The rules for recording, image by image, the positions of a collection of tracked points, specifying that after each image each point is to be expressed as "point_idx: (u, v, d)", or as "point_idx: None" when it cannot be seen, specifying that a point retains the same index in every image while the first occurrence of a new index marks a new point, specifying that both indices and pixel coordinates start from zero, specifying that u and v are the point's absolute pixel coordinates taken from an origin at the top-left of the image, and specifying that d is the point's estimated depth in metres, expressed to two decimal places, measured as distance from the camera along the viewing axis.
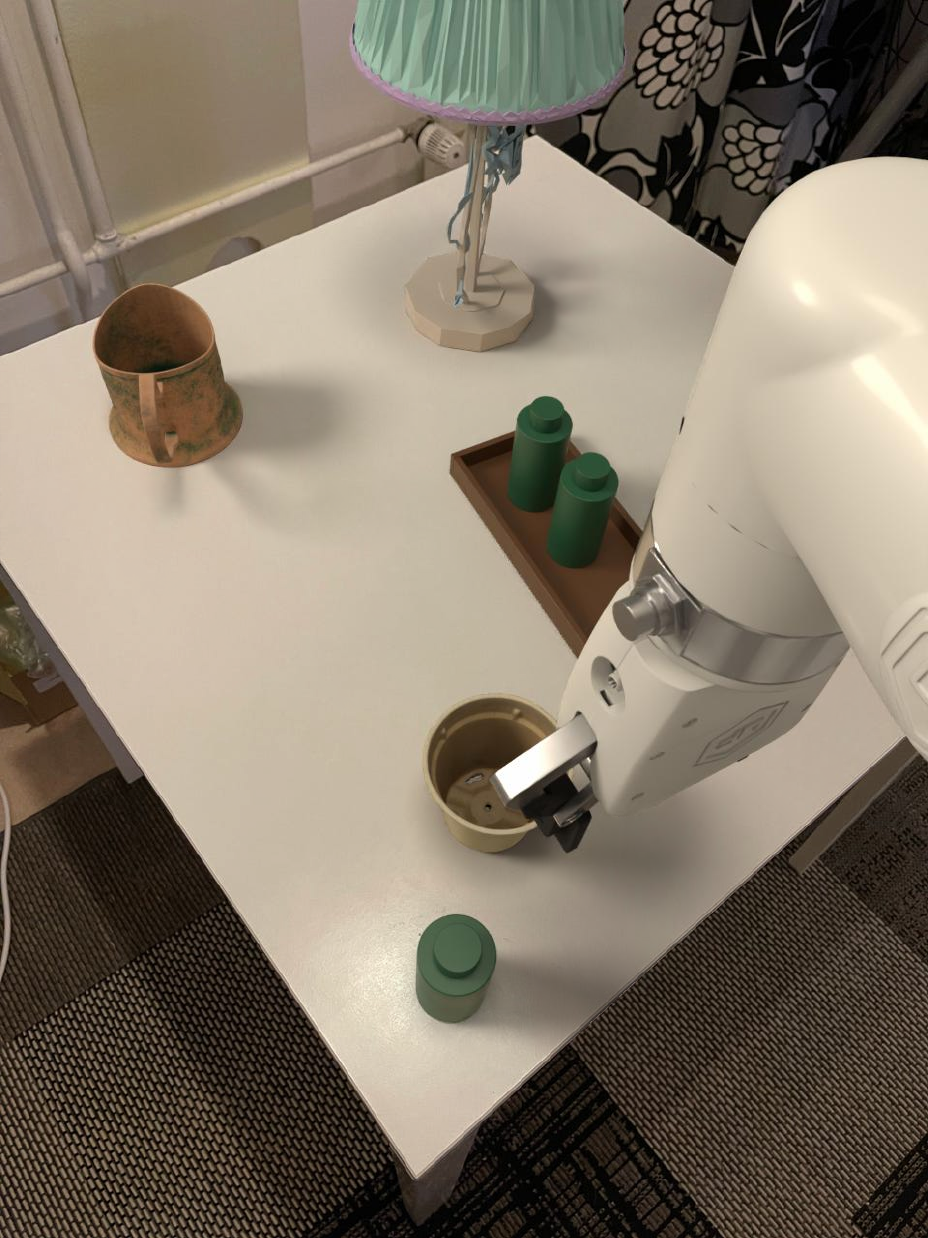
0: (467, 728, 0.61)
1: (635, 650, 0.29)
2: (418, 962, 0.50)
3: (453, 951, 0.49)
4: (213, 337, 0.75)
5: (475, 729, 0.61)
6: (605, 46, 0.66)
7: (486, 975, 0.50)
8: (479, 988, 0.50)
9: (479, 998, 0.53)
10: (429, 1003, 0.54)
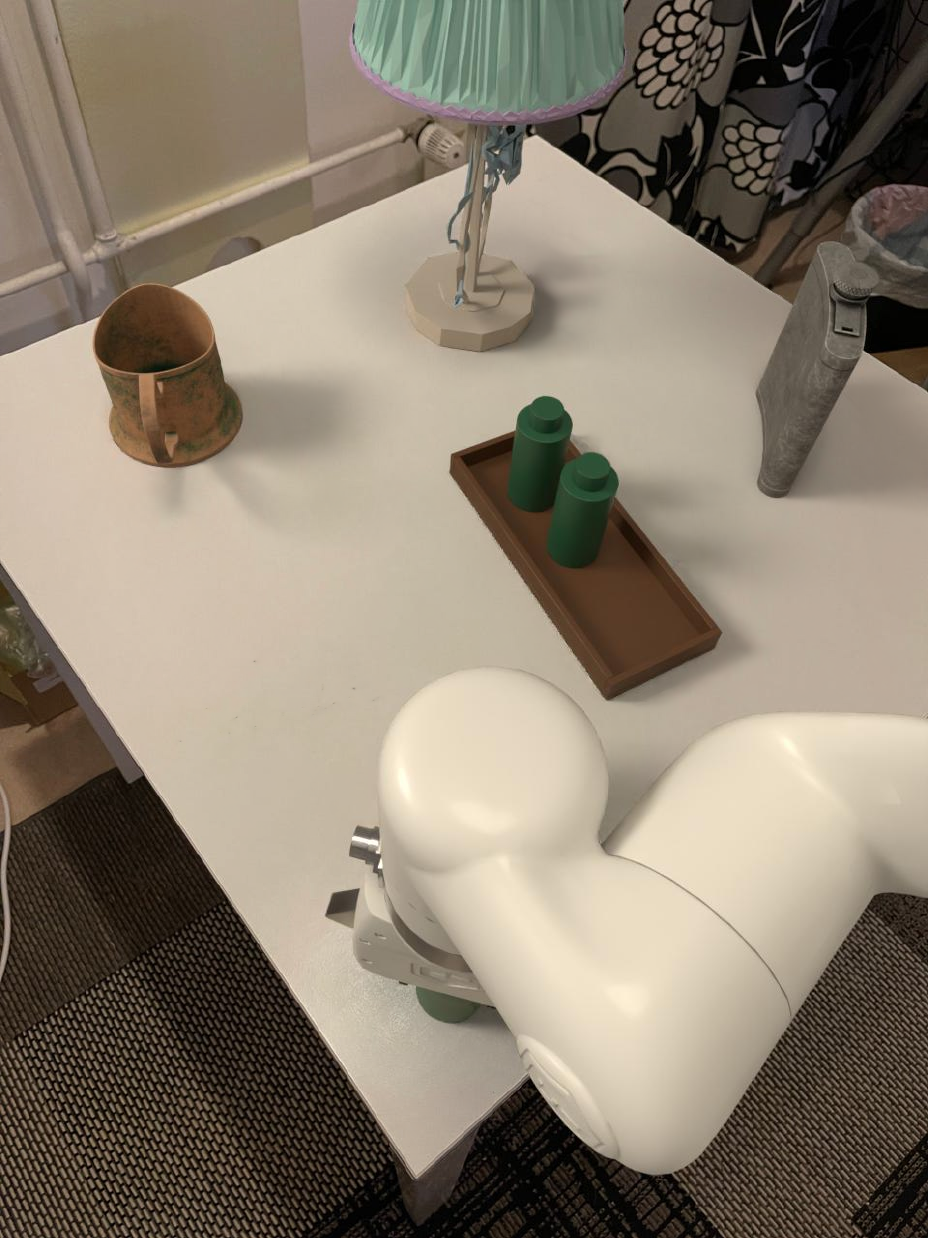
0: None
1: (371, 864, 0.40)
2: None
3: None
4: (213, 337, 0.75)
5: None
6: (605, 46, 0.66)
7: None
8: None
9: None
10: (429, 1003, 0.54)
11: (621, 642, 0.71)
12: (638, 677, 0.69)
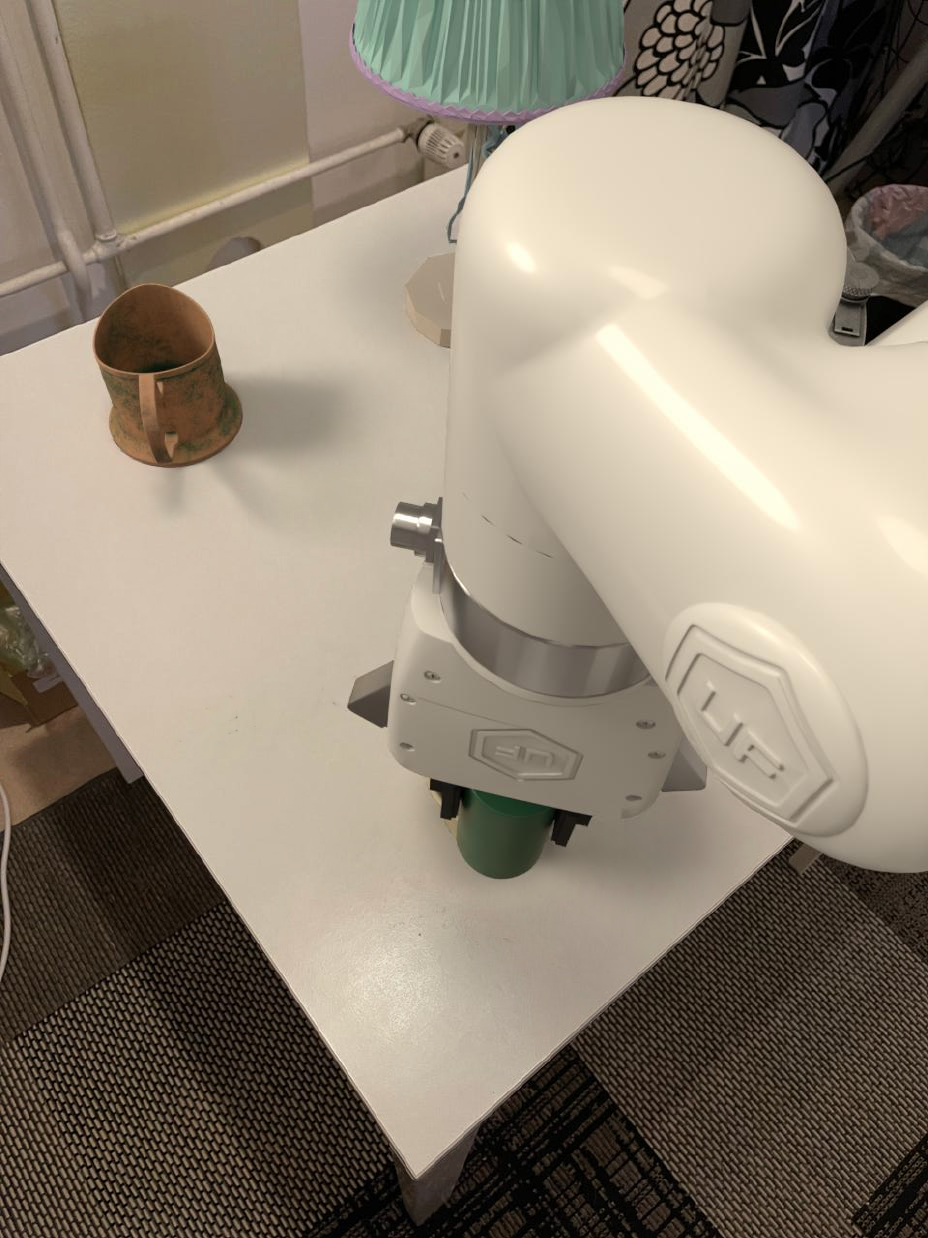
0: None
1: (418, 574, 0.28)
2: None
3: None
4: (213, 337, 0.75)
5: None
6: (605, 46, 0.66)
7: None
8: (549, 808, 0.38)
9: (543, 834, 0.41)
10: (478, 845, 0.42)
11: None
12: None
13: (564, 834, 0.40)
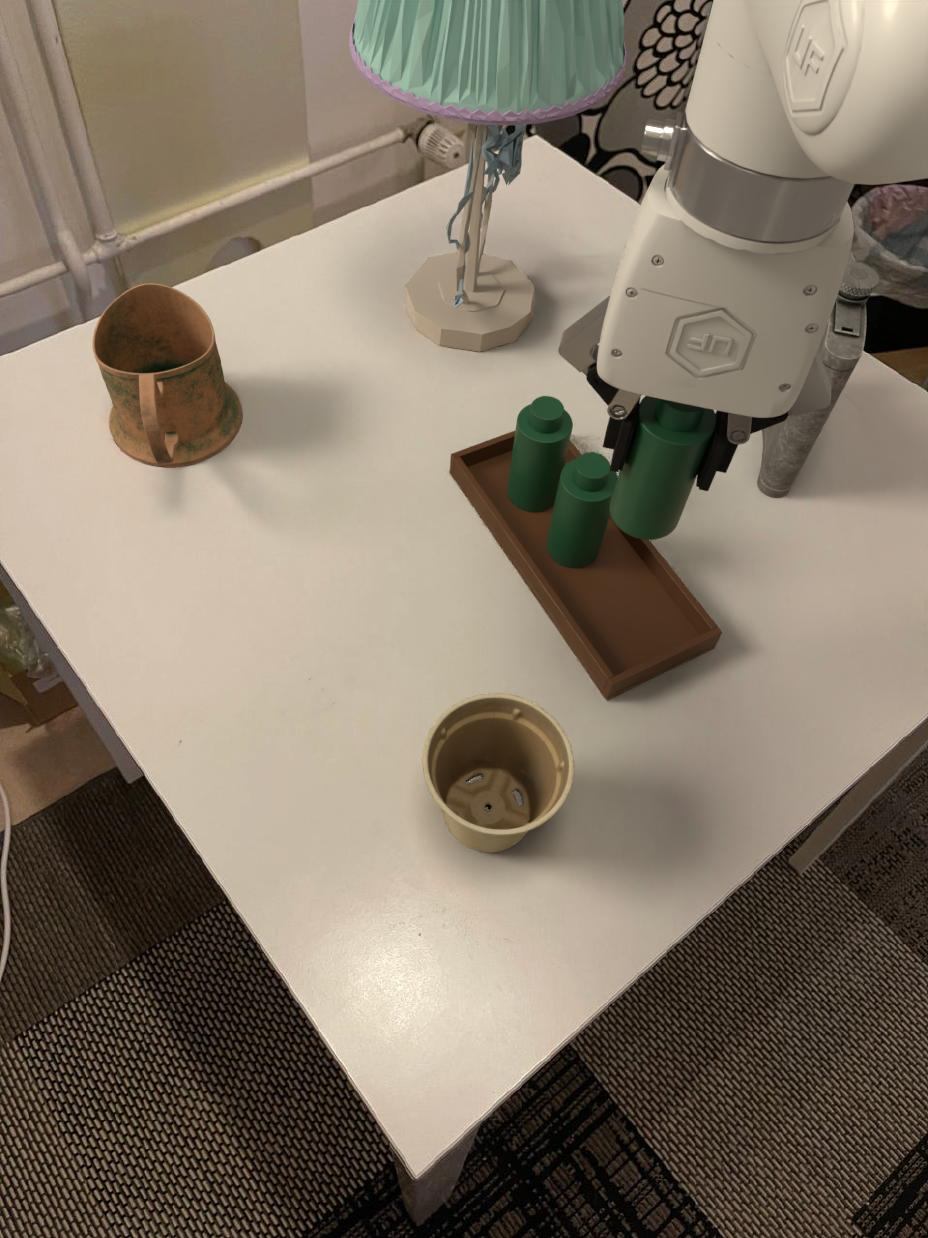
0: (467, 728, 0.61)
1: (650, 185, 0.40)
2: (640, 420, 0.51)
3: None
4: (213, 337, 0.75)
5: (475, 729, 0.61)
6: (605, 46, 0.66)
7: (709, 430, 0.50)
8: (704, 439, 0.50)
9: (690, 482, 0.53)
10: (637, 494, 0.54)
11: (621, 642, 0.71)
12: (638, 677, 0.69)
13: (710, 471, 0.52)
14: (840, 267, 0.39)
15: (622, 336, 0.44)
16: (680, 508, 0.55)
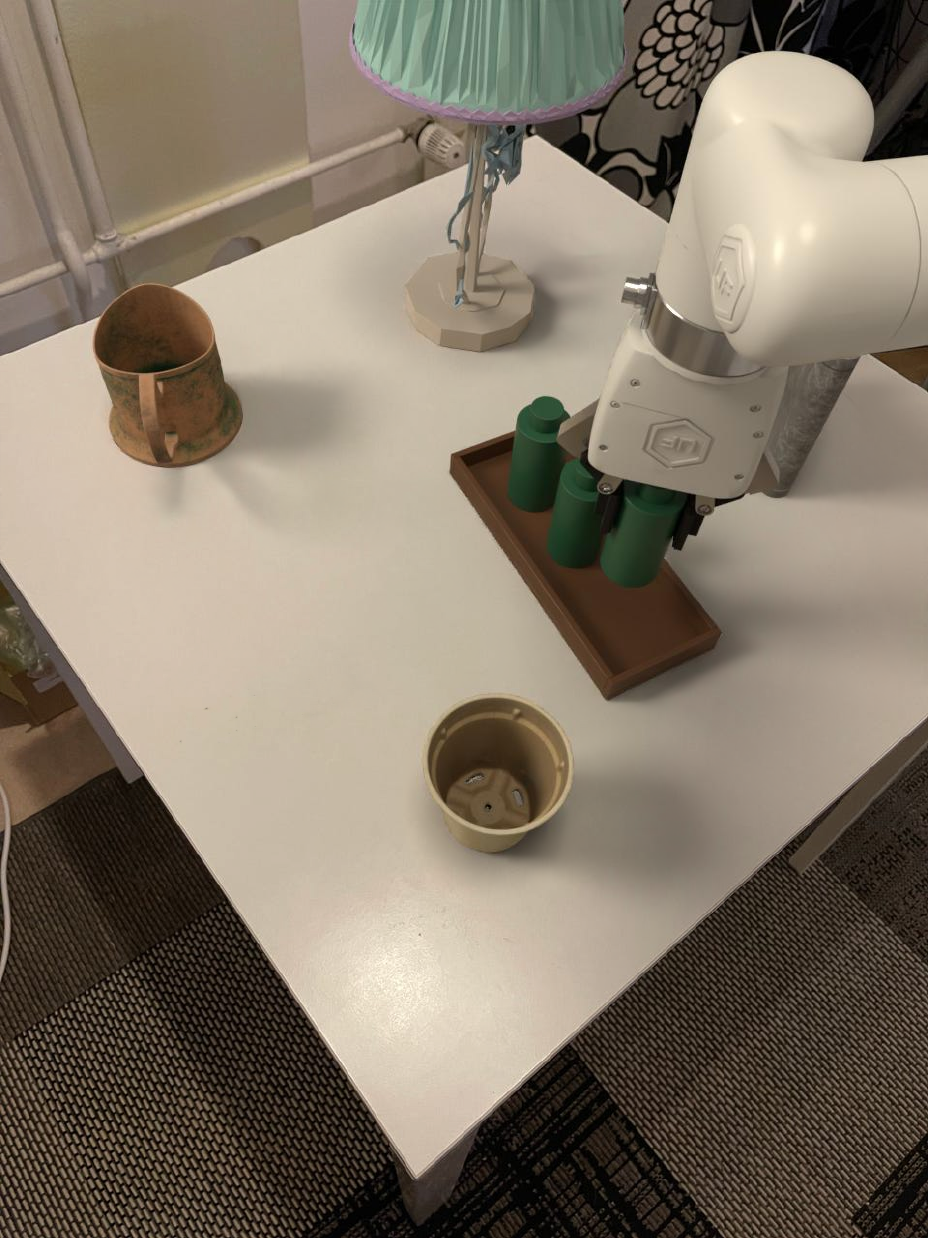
0: (467, 728, 0.61)
1: (629, 324, 0.51)
2: (624, 494, 0.61)
3: None
4: (213, 337, 0.75)
5: (475, 729, 0.61)
6: (605, 46, 0.66)
7: (681, 503, 0.61)
8: (676, 511, 0.61)
9: (667, 542, 0.64)
10: (623, 552, 0.65)
11: (621, 642, 0.71)
12: (638, 677, 0.69)
13: (683, 536, 0.62)
14: (778, 391, 0.50)
15: (608, 435, 0.55)
16: (659, 563, 0.66)
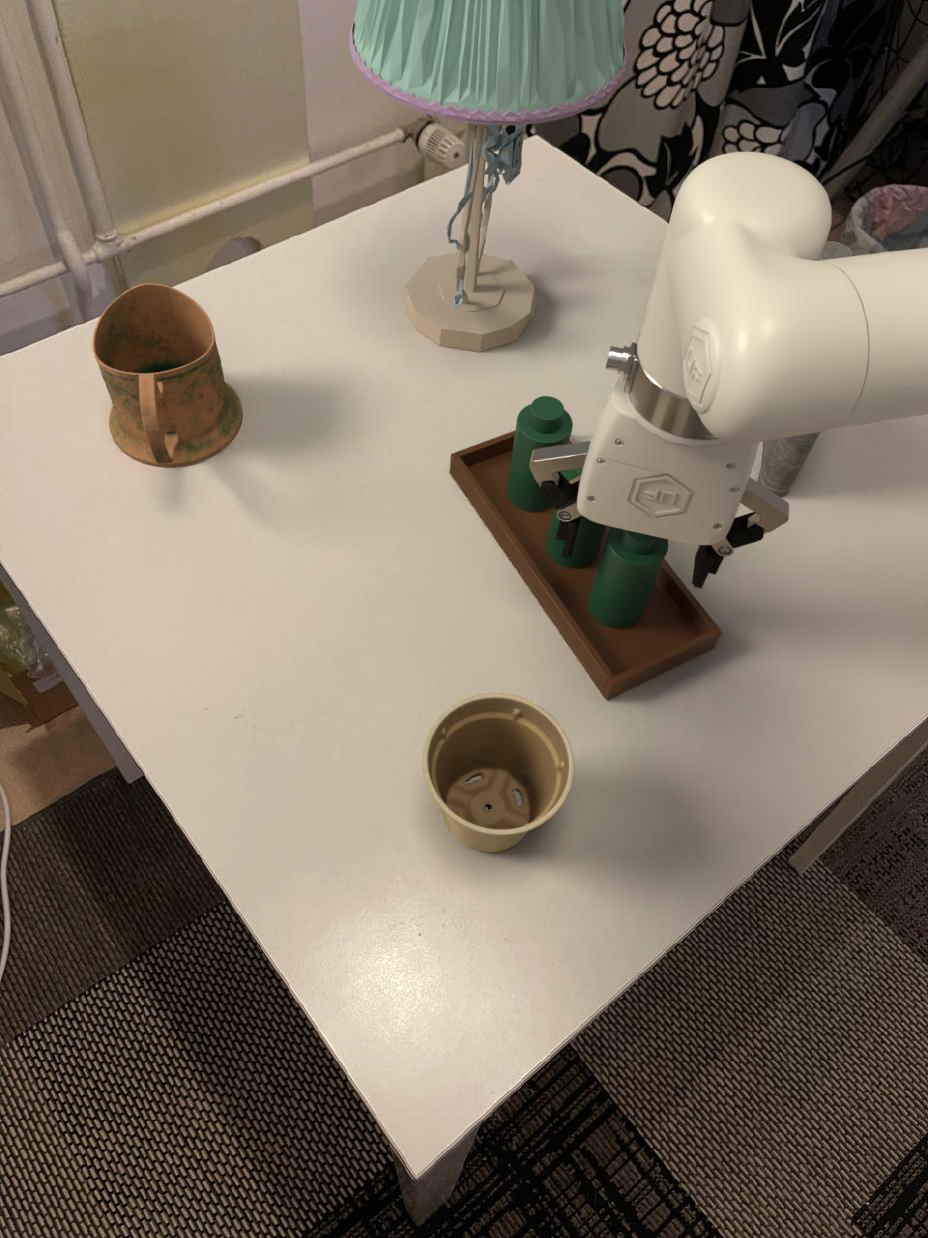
0: (467, 728, 0.61)
1: (614, 387, 0.55)
2: (609, 544, 0.66)
3: None
4: (213, 337, 0.75)
5: (475, 729, 0.61)
6: (605, 46, 0.66)
7: (662, 553, 0.66)
8: (657, 560, 0.65)
9: (649, 588, 0.68)
10: (609, 596, 0.69)
11: (621, 642, 0.71)
12: (638, 677, 0.69)
13: (703, 575, 0.65)
14: (752, 451, 0.54)
15: (595, 488, 0.59)
16: (642, 605, 0.70)
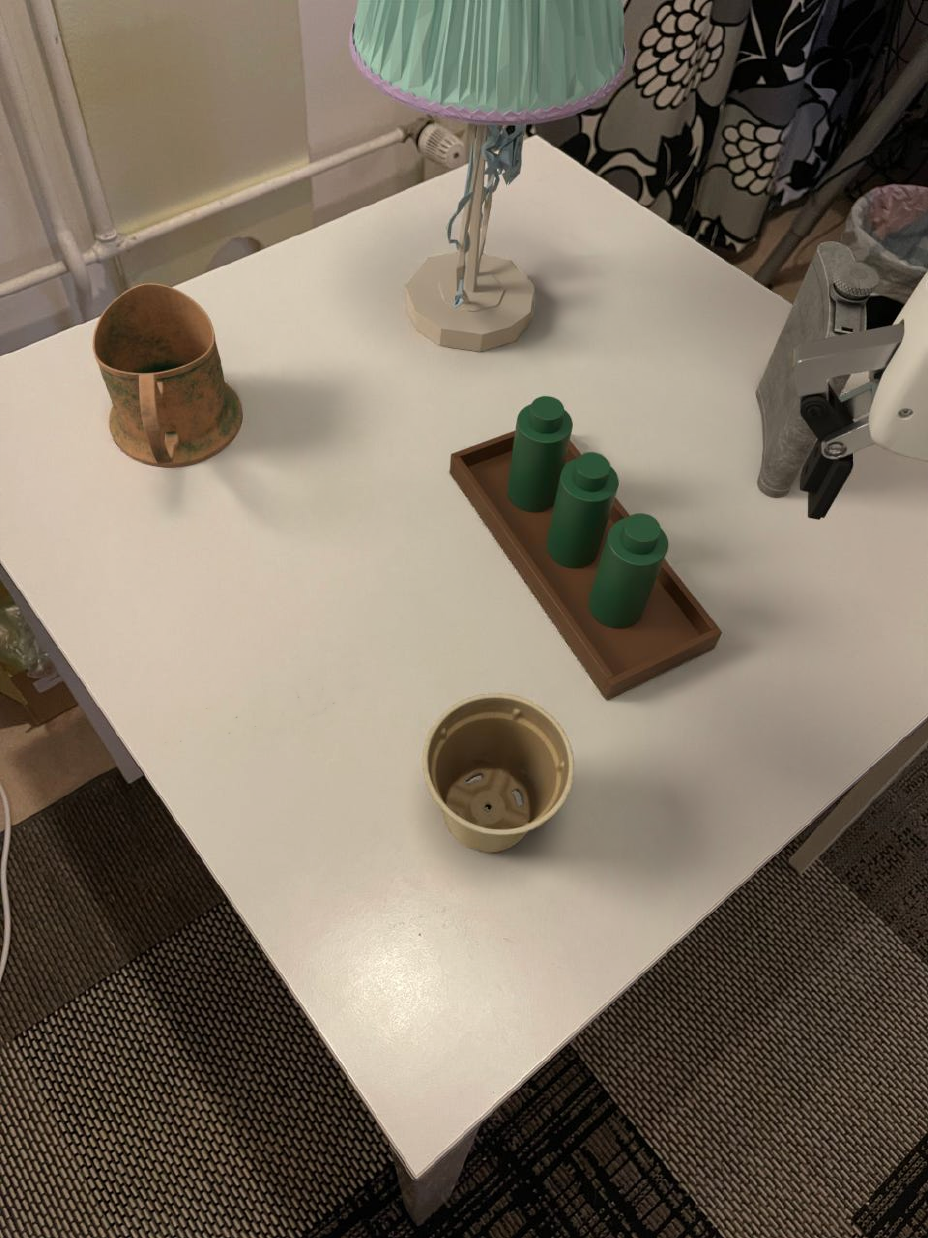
0: (467, 728, 0.61)
1: None
2: (609, 544, 0.66)
3: (640, 529, 0.65)
4: (213, 337, 0.75)
5: (475, 729, 0.61)
6: (605, 46, 0.66)
7: (662, 553, 0.66)
8: (657, 561, 0.65)
9: (649, 588, 0.68)
10: (609, 596, 0.69)
11: (621, 642, 0.71)
12: (638, 677, 0.69)
13: None
14: None
15: (919, 394, 0.37)
16: (642, 605, 0.70)
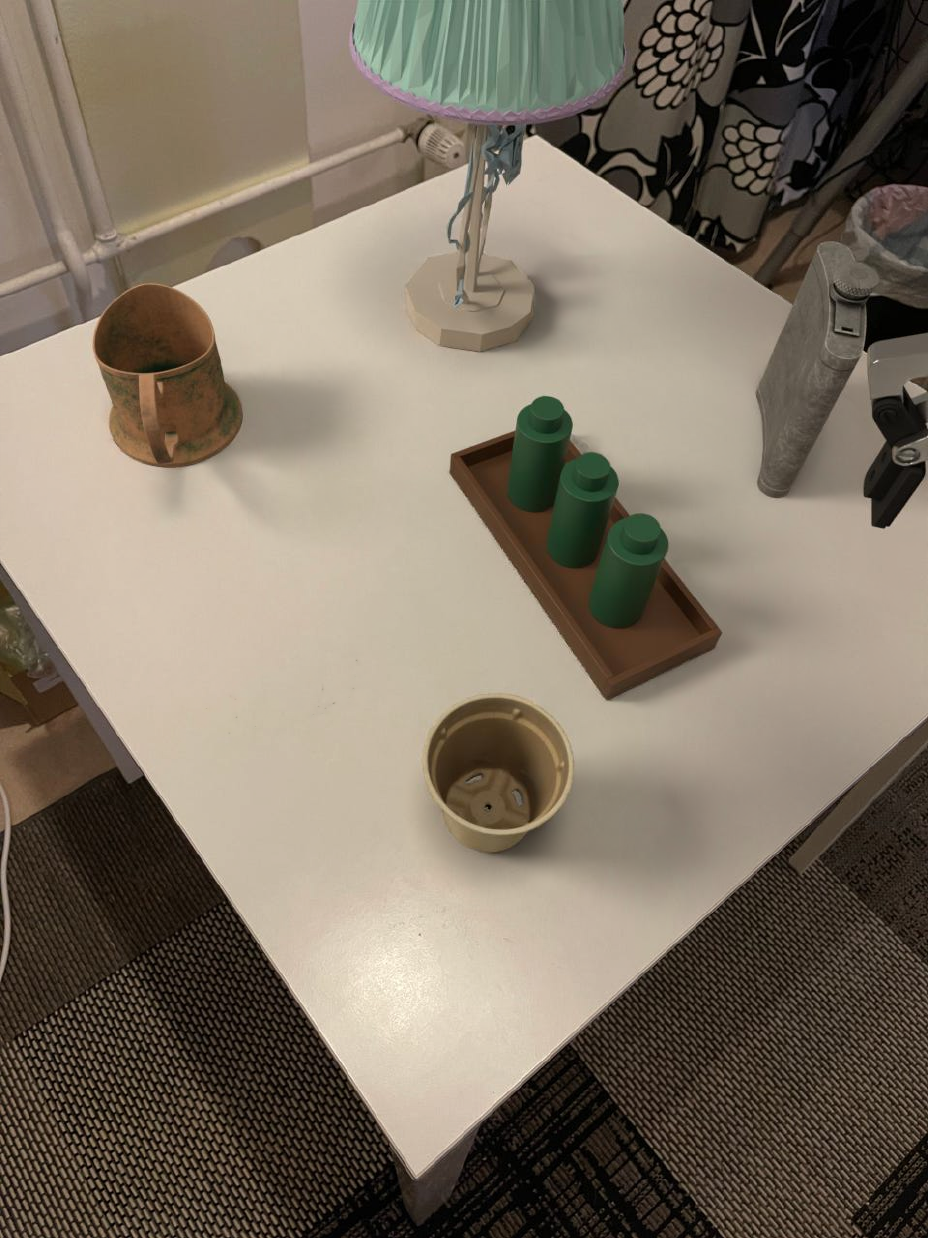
0: (467, 728, 0.61)
1: None
2: (609, 544, 0.66)
3: (640, 529, 0.65)
4: (213, 337, 0.75)
5: (475, 729, 0.61)
6: (605, 46, 0.66)
7: (662, 553, 0.66)
8: (657, 561, 0.65)
9: (649, 588, 0.68)
10: (609, 596, 0.69)
11: (621, 642, 0.71)
12: (638, 677, 0.69)
13: None
14: None
15: None
16: (642, 605, 0.70)
